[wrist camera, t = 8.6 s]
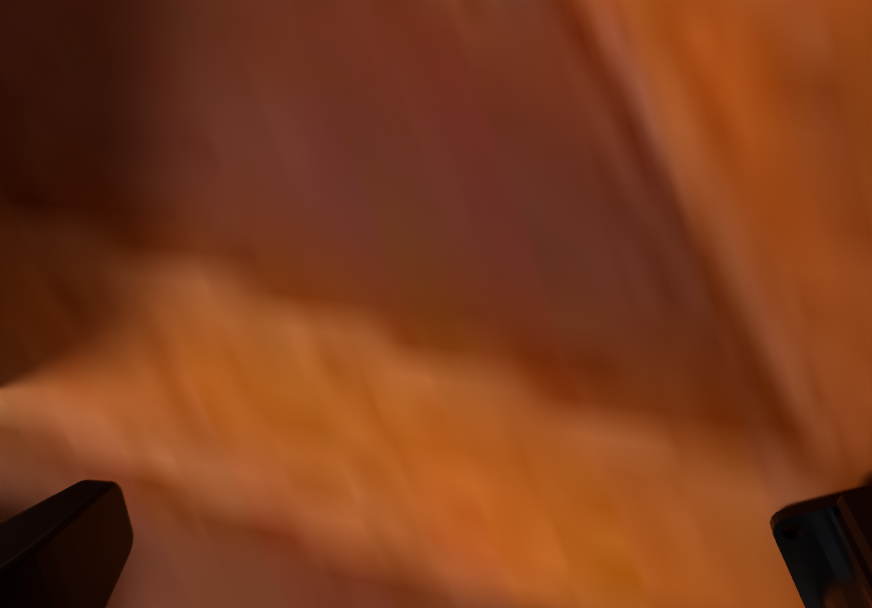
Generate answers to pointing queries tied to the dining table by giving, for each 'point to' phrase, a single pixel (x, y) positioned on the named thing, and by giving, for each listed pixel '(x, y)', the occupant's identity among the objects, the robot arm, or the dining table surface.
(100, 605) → the robot arm
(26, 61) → the dining table surface
